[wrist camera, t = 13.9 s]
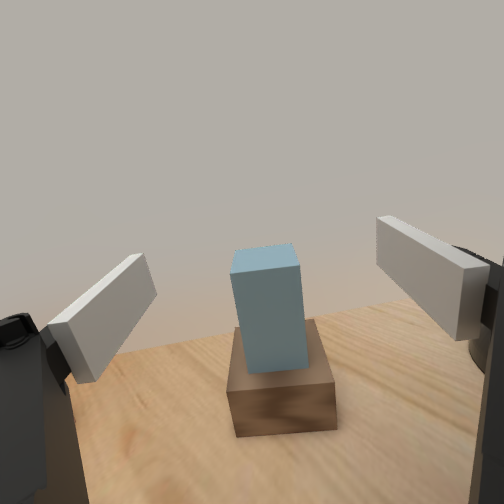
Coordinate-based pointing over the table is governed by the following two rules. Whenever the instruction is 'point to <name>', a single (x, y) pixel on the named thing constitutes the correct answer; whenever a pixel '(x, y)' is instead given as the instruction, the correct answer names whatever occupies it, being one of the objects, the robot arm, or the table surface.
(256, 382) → the base block
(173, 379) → the table surface
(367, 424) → the table surface
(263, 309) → the blue brick
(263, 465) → the table surface
